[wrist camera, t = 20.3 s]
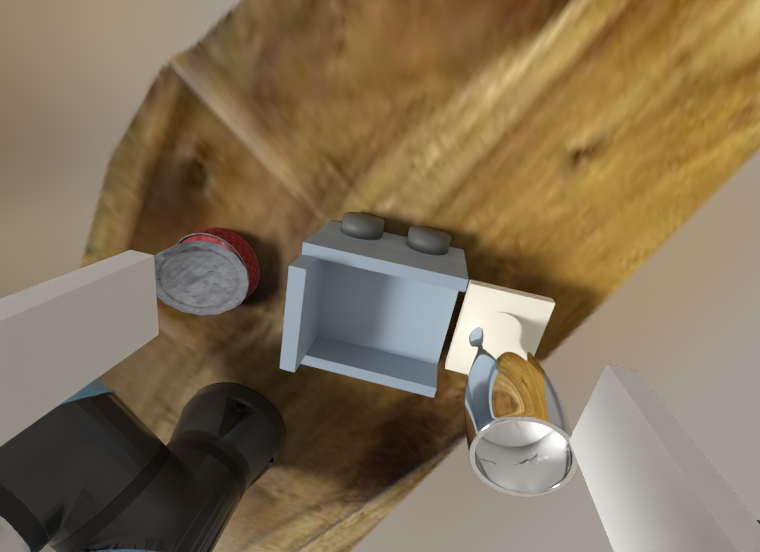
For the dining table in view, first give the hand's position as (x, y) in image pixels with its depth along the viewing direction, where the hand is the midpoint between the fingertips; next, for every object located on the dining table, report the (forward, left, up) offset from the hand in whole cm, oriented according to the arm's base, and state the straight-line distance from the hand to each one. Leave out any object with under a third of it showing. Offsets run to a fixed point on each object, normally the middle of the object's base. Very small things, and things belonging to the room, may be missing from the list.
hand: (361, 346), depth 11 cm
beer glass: (+3, -16, -25) cm, 30 cm away
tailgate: (0, -13, -26) cm, 29 cm away
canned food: (-26, -1, -31) cm, 41 cm away
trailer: (-4, -11, -31) cm, 33 cm away
